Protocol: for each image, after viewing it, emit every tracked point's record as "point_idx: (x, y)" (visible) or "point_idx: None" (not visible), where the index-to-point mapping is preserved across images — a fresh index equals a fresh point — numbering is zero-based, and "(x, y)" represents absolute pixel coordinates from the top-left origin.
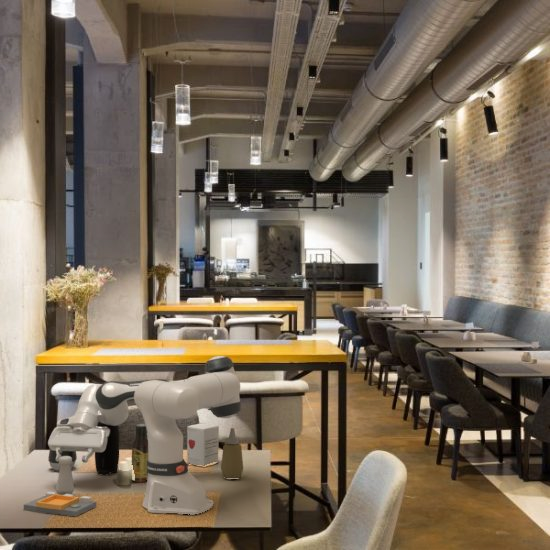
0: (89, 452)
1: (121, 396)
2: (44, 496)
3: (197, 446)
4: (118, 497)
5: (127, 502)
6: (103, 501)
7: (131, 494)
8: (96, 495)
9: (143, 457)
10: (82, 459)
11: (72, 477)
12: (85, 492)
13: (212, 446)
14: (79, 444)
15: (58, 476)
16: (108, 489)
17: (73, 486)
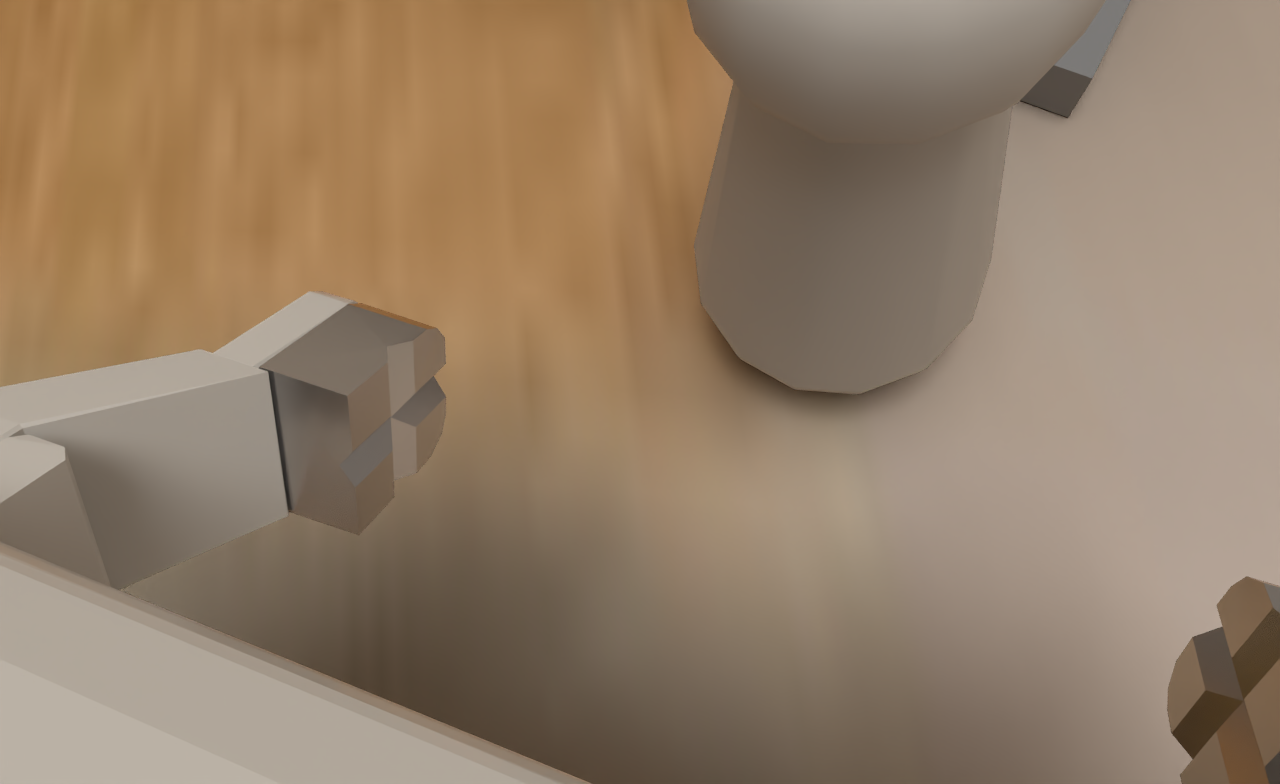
0: (57, 389)
1: None
2: (1099, 16)
3: None
4: (163, 210)
5: (87, 26)
6: (329, 62)
7: (15, 325)
8: (415, 308)
9: None
10: (411, 320)
11: (715, 226)
12: (568, 465)
13: None
14: (271, 772)
15: (1003, 162)
16: (265, 589)
17: (699, 225)
